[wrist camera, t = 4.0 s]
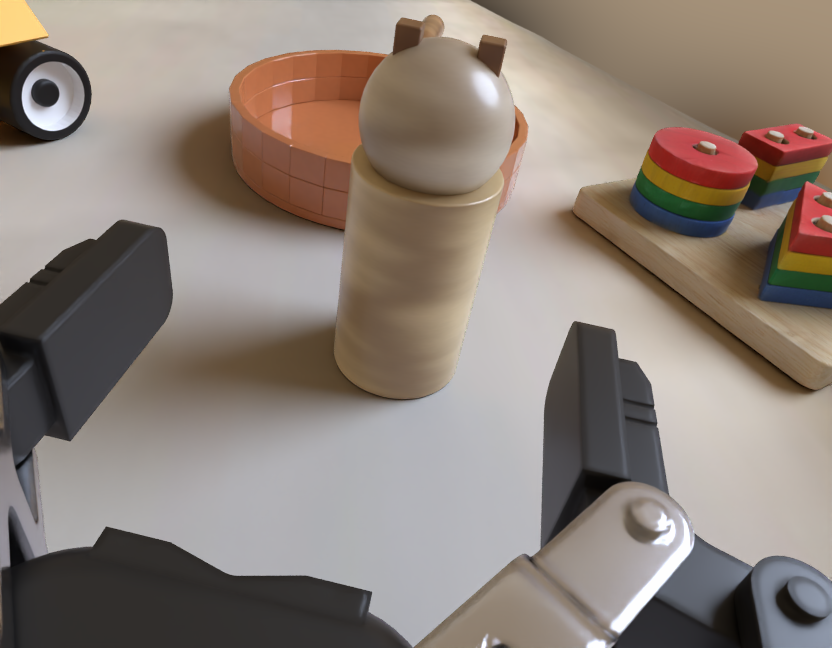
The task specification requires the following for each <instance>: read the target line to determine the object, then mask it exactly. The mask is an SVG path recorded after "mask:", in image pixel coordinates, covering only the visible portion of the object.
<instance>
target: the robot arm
mask: <svg viewBox="0 0 832 648" xmlns="http://www.w3.org/2000/svg"><path fill="white" fill-rule="evenodd" d="M172 299H173V290H172V282H171V273H170V264H169V256H168V247H167V239H166V235H165V232H164V231H163V230H162V229H161V228H159V227H154V226H150V225H145V224H141V223H136V222H132V221H127V220H119V221H117V222H116V223H115V224H114V225H113V226H111V227H110V228H109V229H108V230H107V231H106V232H105V233H104V234H103V235H101V236H100V237H99V238H98V239H97V240H94V239H88V240H86V241H83V242H81V243H79V244H76V245H74V246H72V247H70V248H67V249H65V250H63V251H62V252H61V253H60V254H58V255H57V256H56V257H55V258H54V259H53V260H52V261H50V262H49V263H48V264H47V265H46V266H45V269H44V270H43V269H41V270H40V271H39V272H38V273H36V274H35V275H34V276H33V277H32V278H31V279H30V282H29V283H28V282H26V283H25V284H24V285H22V286H21V287H20V288H19V289H18V290H17V291H15V292H14V293H13V294H12V295H11V296H10V297H8V298H7V299H6V300H5V301H4V302H3V303H2V304H0V648H412V646H411V645H410V644H409V643H408V641H407V640H405V639H404V638H403V637H402V636H401V635H400V634H399V633H398V632H397V631H396V630H395V629H394V628H392V627H391V626H390V625H388V624H387V623H386V622H384V621H383V620H382V619H380V618H378V617H376V616H374V615H373V614H371V613H369V612H368V611H369V606H370V601H371V596H372V592H370V591H366V590H362V589H358V588H354V587H350V586H346V585H342V584H338V583H334V582H330V581H326V580H322V579H318V578H313V577H309V576H233V575H229V574H226V573H224V572H222V571H221V570H219V569H217V568H215V567H213V566H212V565H210V564H208V563H206V562H205V561H203V560H201V559H199V558H197V557H196V556H194V555H192V554H190V553H188V552H187V551H185V550H183V549H181V548H180V547H178V546H176V545H174V544H172V543H171V542H167V541H163V540H159V539H155V538H151V537H146V536H142V535H138V534H134V533H130V532H126V531H122V530H118V529H114V528H110V527H105V529H104V530H103V532H102V534H101V535H100V537H99V538H98V540H97V541H96V543H95V544H94V546H93V547H81V548H72V549H66V550H61V551H57V552H52V553H49V554H48V550H47V545H46V539H45V531H44V521H43V511H42V500H41V490H40V480H39V470H38V460H37V454H36V451H35V448H34V447H35V446H36V444H37V443H38V442H39V441H40V440H41V438H42V437H43V436H44V435H46V436H50V437H55V438H59V439H63V440H67V441H71V440H72V439H73V437H74V436H75V435H76V434H77V432H78V431H79V430H80V429H81V427H82V426H83V425H84V424H85V422H86V421H87V420H88V418H89V417H90V416H91V415H92V413H93V412H94V411H95V410H96V408H97V407H98V406H99V405H100V403H101V402H102V401H103V400H104V398H105V397H106V396H107V394H108V393H109V392H110V391H111V389H112V388H113V387H114V386H115V384H116V383H117V382H118V381H119V379H120V378H121V377H122V376H123V374H124V373H125V372H126V370H127V369H128V368H129V367H130V365H131V364H132V363H133V362H134V360H135V359H136V358H137V357H138V355H139V354H140V353H141V352H142V350H143V349H144V348H145V346H146V345H147V344H148V343H149V341H150V340H151V339H152V338H153V336H154V335H155V334H156V333H157V331H158V330H159V329H160V328H161V326H162V325H163V324H164V322H165V321H166V319H167V317H168V315H169V312H170V309H171V305H172ZM656 426H657V418H656V412H655V410H654V400H653V394H652V387H651V383H650V382H649V380H648V379H647V377H646V376H645V374H644V373H643V371H642V370H641V368H640V367H639V365H638V364H637V362H633V361H629V360H624V359H620V358H618V350H617V341H616V333H615V331H614V330H613V329H608V328H604V327H599V326H595V325H590V324H586V323H581V322H577V321H575V322H573V324H572V326H571V328H570V330H569V332H568V335H567V338H566V340H565V343H564V346H563V348H562V351H561V353H560V356H559V359H558V361H557V364H556V367H555V369H554V372H553V374H552V377H551V380H550V383H549V387H548V390H547V395H546V400H545V408H544V439H543V476H542V514H541V550H540V551H539V552H538V553H536V554H535V555H534V556H532V557H529V556H528V555H527V554H522V555H520V556H519V557H517V558H515V559H514V560H513V561H512V562H510V563H509V564H508V565H507V566H506V567H505V568H503V569H502V570H501V571H500V572H499V573H498V574H497V575H495V576H494V577H493V578H492V579H491V580H490V581H489V582H487V583H486V584H485V585H484V586H483V587H482V588H481V589H480V590H478V591H477V592H476V593H475V594H474V595H473V596H472V597H470V598H469V599H468V600H467V601H466V602H465V603H464V604H462V605H461V606H460V607H459V608H458V609H457V610H456V611H455V612H453V613H452V614H451V615H450V616H449V617H448V618H447V619H445V620H444V621H443V622H442V623H441V624H440V625H439V626H438V627H436V628H435V629H434V630H433V631H432V632H431V633H430V634H428V635H427V636H426V637H425V638H424V639H423V640H422V641H420V642H419V643H418V644H417V645H416V646H415V647H414V648H832V581H830V580H829V579H828V578H827V577H826V576H825V575H823V574H822V573H821V572H819V571H818V570H816V569H815V568H813V567H812V566H810V565H808V564H806V563H804V562H802V561H799V560H796V559H794V558H790V557H785V556H771V557H767V558H764V559H762V560H761V561H759V562H758V563H757V564H756V565H755V567H752V566H750V565H748V564H746V563H744V562H742V561H740V560H738V559H736V558H735V557H733V556H731V555H729V554H727V553H725V552H723V551H721V550H719V549H717V548H715V547H714V546H712V545H710V544H708V543H707V542H705V541H704V540H702V539H701V538H700V537H698V536H697V535H696V534H695V533H694V529H693V526H692V523H691V521H690V519H689V517H688V515H687V514H686V513H685V511H684V510H683V508H682V507H681V506H680V505H679V504H678V503H677V502H676V501H675V500H674V499H673V498H671V497H670V496H669V492H668V486H667V480H666V474H665V467H664V461H663V455H662V449H661V443H660V437H659V431H658V428H657V427H656Z"/></svg>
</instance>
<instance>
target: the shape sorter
mask: <svg viewBox="0 0 832 648" xmlns="http://www.w3.org/2000/svg"><path fill="white" fill-rule="evenodd" d="M831 152H832V139H830V138H828V137H826V136H824V135H822V134H819V133H818V132H815V131H813V130H811V129H809V128H807V127H804V126H802V125H800V124H790V125H785V126H779V127H772V128H766V129H759V130H752V131H747V132H744V133H743V135H742V137H741V139H740V141H739V143H738V144H737V143H734V142H732V141H730V140H728V139H725V138H723V137H720V136H717V135H714V134H711V133H708V132H704V131H700V130H696V129H690V128H682V127H671V128H664V129H661V130H659V131H657V132H656V134H655V135H654V137H653V140H652V142H651V145H650V148H649V149H648V151H647V153H646V156H645V158H644V161H643V164H642V166H641V169H640V171H639V174H638V176H637V178H633V179H627V180H621V181H616V182H609V183H603V184H597V185H591V186H586V187H582V188H581V189H580V191H579V194H578V196H577V199H576V202H575V204H574V207H573V212H574V213H575V214H576V215H577V216H578V217H579V218H581V219H582V220H583V221H585V222H586V223H587V224H589V225H590V226H591V227H592V228H594V229H595V230H596V231H598V232H599V233H601V234H602V235H603V236H605V237H606V238H607V239H609V240H610V241H611V242H613V243H614V244H615V245H616V246H618V247H619V248H620V249H622V250H623V251H624V252H626V253H627V254H628V255H629V256H631V257H632V258H633V259H635V260H636V261H637V262H639V263H640V264H641V265H643V266H644V267H645V268H647V269H648V270H649V271H651V272H652V273H653V274H655V275H656V276H657V277H659V278H660V279H661V280H663V281H664V282H665V283H666V284H668V285H669V286H670V287H672V288H673V289H674V290H676V291H677V292H678V293H680V294H681V295H682V296H684V297H685V298H686V299H688V300H689V301H690V302H692V303H693V304H694V305H696V306H697V307H698V308H700V309H701V310H702V311H704V312H705V313H706V314H708V315H709V316H710V317H712V318H713V319H714V320H716V321H717V322H718V323H720V324H721V325H722V326H723V327H725V328H726V329H727V330H729V331H730V332H731V333H733V334H734V335H735V336H737V337H738V338H739V339H741V340H742V341H743V342H745V343H746V344H747V345H749V346H750V347H752V348H753V349H754V350H756V351H757V352H758V353H760V354H761V355H762V356H764V357H765V358H766V359H768V360H769V361H770V362H772V363H773V364H774V365H775V366H777V367H778V368H779V369H781V370H782V371H783V372H785V373H786V374H787V375H789V376H790V377H792V378H793V379H794V380H796V381H797V382H798V383H800V384H801V385H803V386H805V387H807V388H810V389H814V390H817V389H821V388H823V387H825V386H827V385H829V384H831V383H832V193H830V192H827V191H825V190H823V189H821V188H819V187H817V186H815V185H813V183H814V181H815V180H816V178H817V177H818V175H819V172H820V170H821V169H822V168H823V166H824V164H825V163H826V161H827V159H828V155H829V154H830V153H831Z"/></svg>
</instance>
